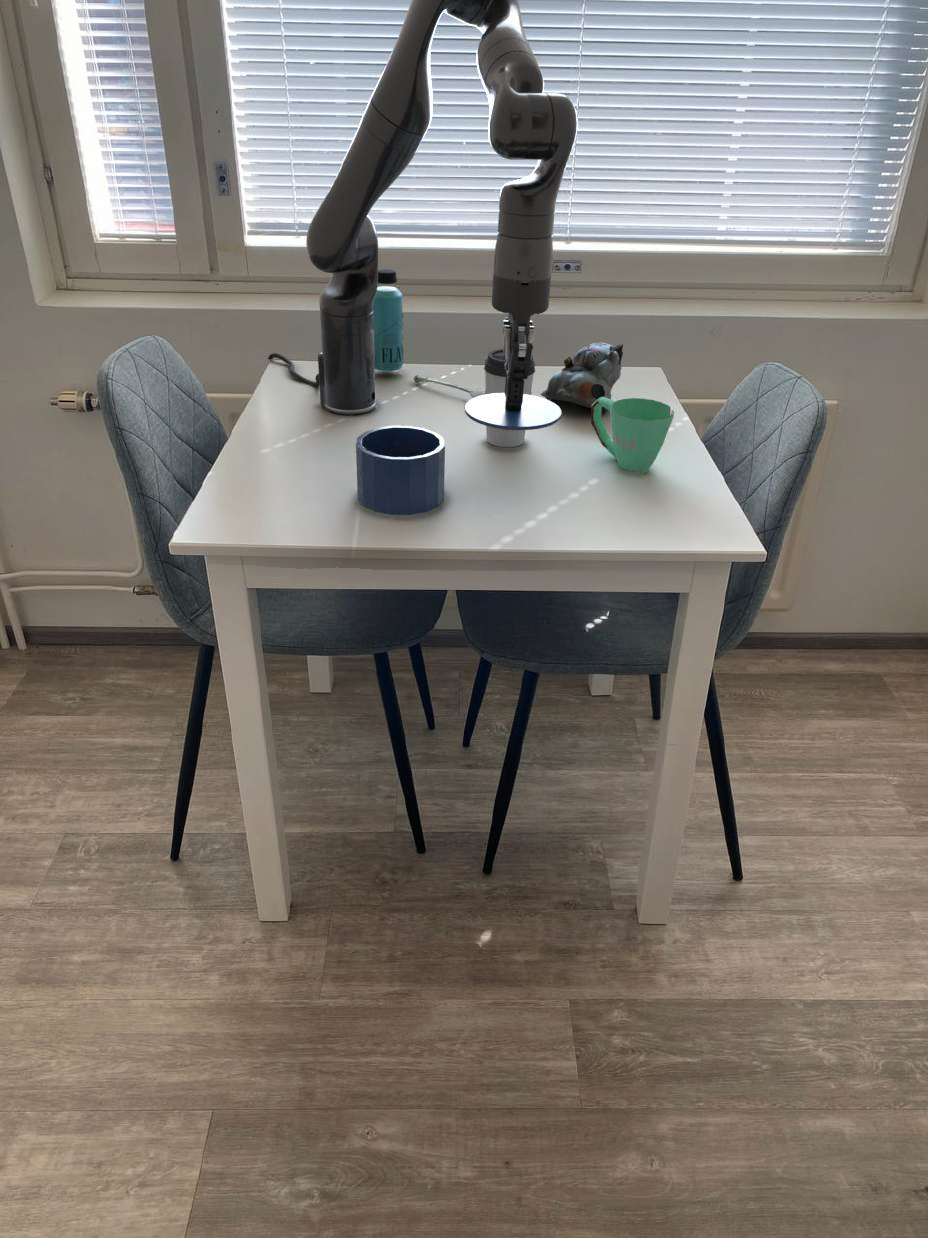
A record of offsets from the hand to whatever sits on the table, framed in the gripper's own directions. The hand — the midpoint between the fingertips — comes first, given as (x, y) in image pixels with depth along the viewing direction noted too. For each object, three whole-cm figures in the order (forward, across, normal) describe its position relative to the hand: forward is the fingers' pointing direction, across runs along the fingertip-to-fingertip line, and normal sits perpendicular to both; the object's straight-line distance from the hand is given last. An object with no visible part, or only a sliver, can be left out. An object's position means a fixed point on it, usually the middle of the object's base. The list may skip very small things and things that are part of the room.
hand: (513, 400), depth 125 cm
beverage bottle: (+16, -59, -19) cm, 64 cm away
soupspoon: (+16, -46, -5) cm, 49 cm away
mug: (+15, -14, +20) cm, 29 cm away
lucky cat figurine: (+16, -42, +17) cm, 48 cm away
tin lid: (+2, 0, 0) cm, 2 cm away
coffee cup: (+16, -22, +2) cm, 27 cm away
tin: (+15, 0, -16) cm, 22 cm away
